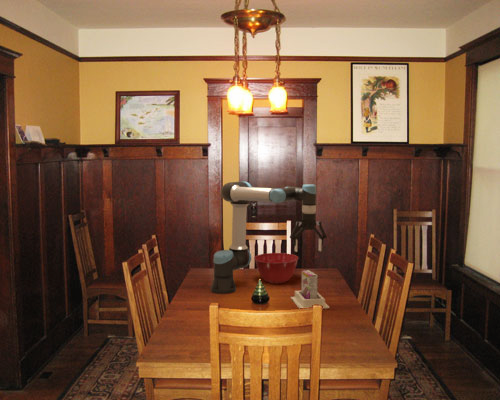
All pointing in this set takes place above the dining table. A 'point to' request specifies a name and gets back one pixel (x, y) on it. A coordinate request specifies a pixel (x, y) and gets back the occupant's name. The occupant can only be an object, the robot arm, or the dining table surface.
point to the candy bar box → (309, 285)
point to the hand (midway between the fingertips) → (307, 251)
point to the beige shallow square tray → (308, 301)
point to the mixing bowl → (276, 266)
